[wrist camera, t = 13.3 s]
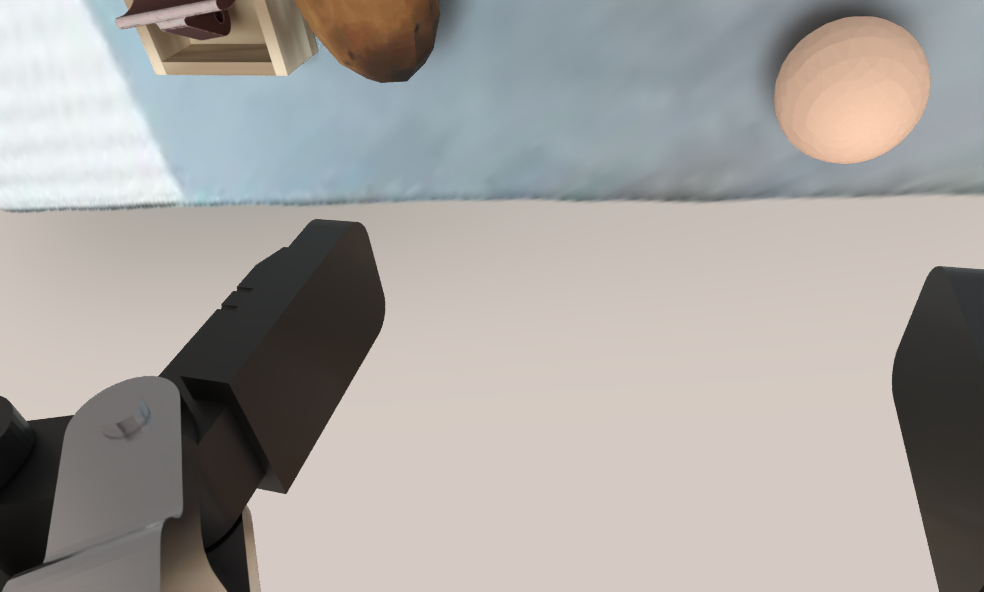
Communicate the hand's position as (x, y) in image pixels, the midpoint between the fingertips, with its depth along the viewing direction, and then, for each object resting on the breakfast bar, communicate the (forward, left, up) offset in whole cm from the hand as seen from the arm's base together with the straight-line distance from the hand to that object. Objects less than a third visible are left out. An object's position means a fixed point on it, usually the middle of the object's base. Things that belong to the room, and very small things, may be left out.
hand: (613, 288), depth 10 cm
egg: (+8, +8, -30) cm, 32 cm away
